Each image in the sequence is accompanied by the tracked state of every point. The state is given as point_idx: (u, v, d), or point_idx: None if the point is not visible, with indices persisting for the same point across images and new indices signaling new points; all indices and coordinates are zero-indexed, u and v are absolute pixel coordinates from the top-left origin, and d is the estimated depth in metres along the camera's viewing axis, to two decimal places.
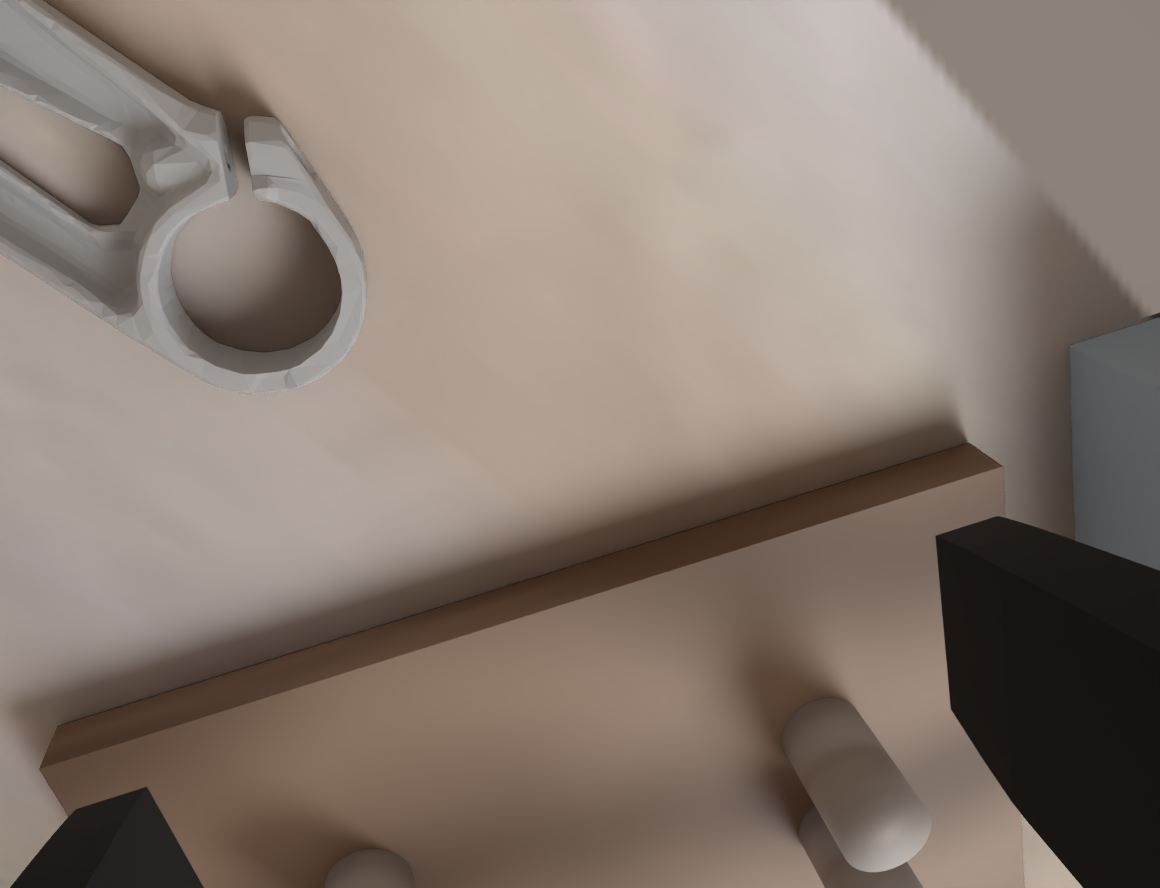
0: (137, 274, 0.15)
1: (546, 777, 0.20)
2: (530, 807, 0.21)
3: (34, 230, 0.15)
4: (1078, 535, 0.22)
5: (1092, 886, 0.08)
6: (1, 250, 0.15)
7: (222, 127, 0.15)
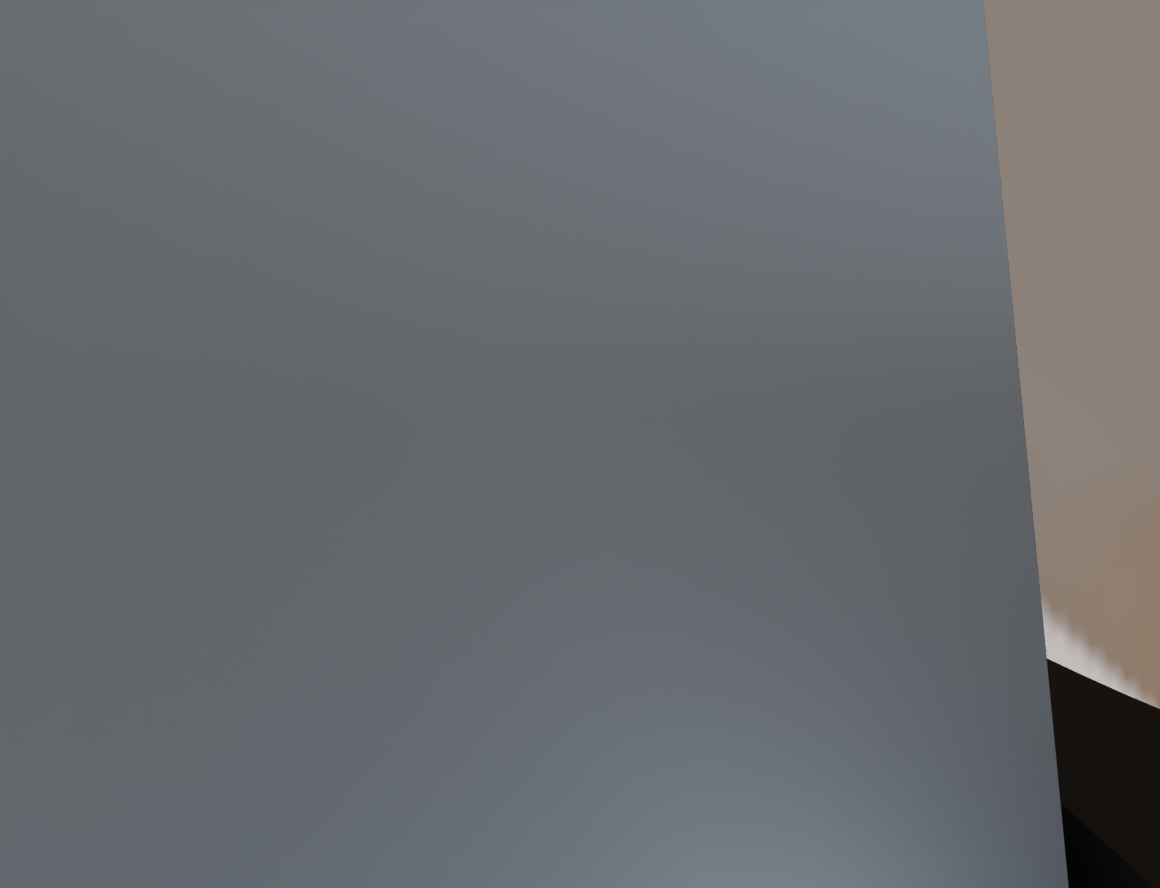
0: None
1: None
2: None
3: None
4: None
5: None
6: None
7: None
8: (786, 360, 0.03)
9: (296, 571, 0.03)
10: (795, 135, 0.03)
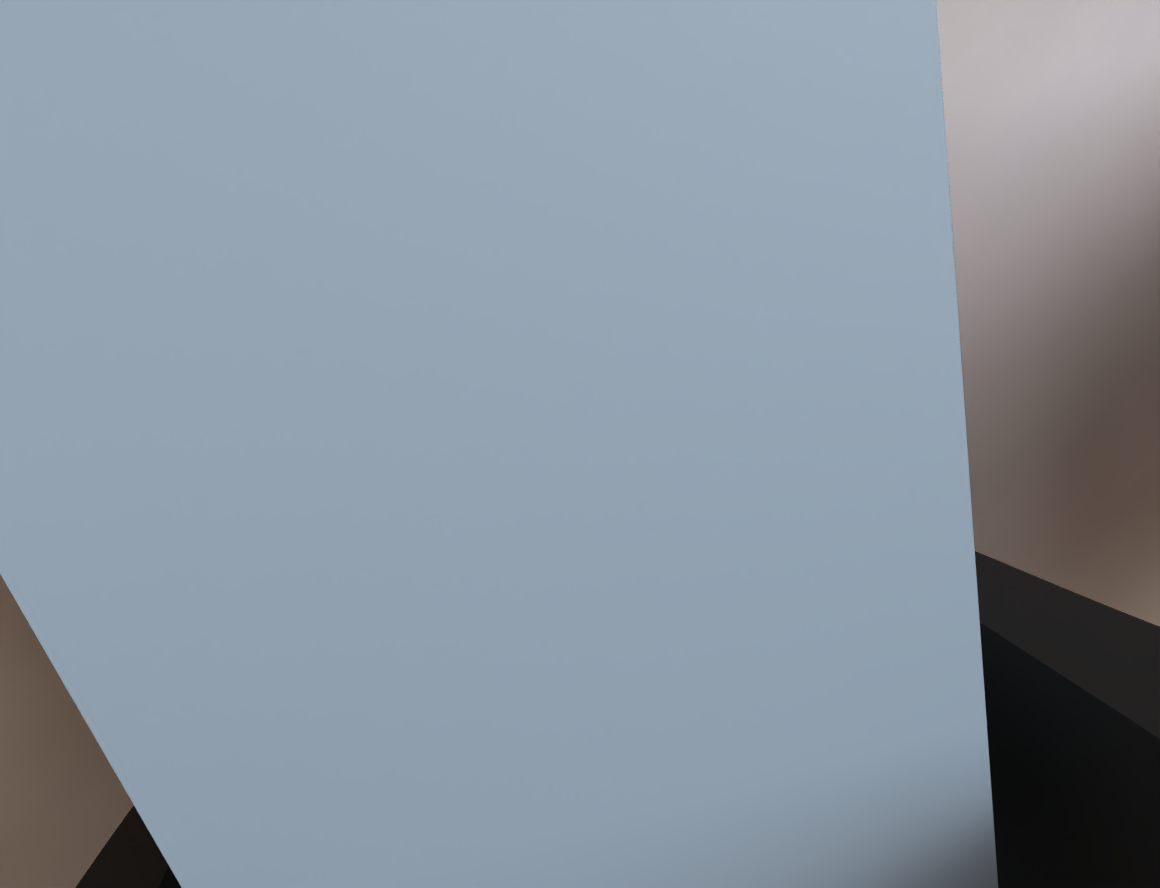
0: None
1: None
2: None
3: None
4: None
5: None
6: None
7: None
8: (774, 282, 0.04)
9: (379, 431, 0.04)
10: (789, 105, 0.04)
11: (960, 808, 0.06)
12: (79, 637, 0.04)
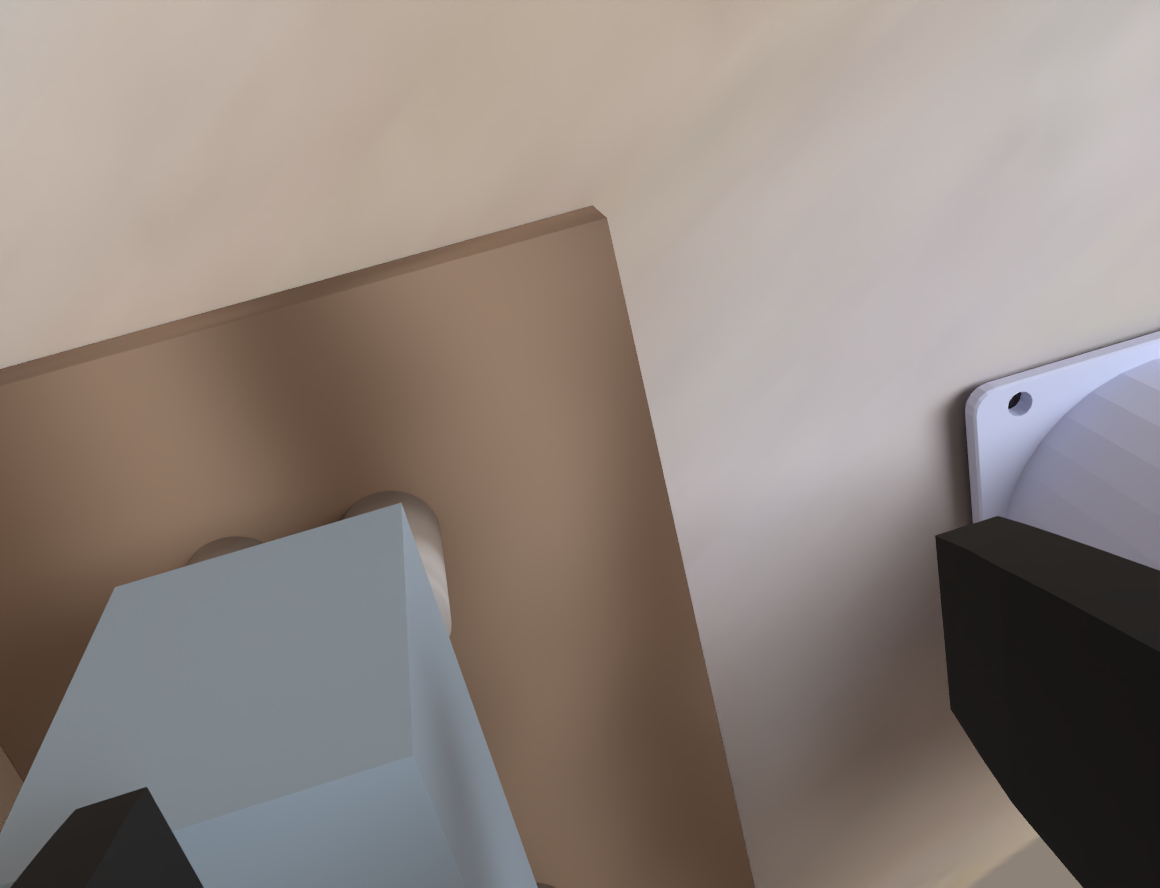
0: None
1: None
2: None
3: None
4: None
5: (1092, 886, 0.08)
6: None
7: None
8: None
9: None
10: None
11: None
12: None
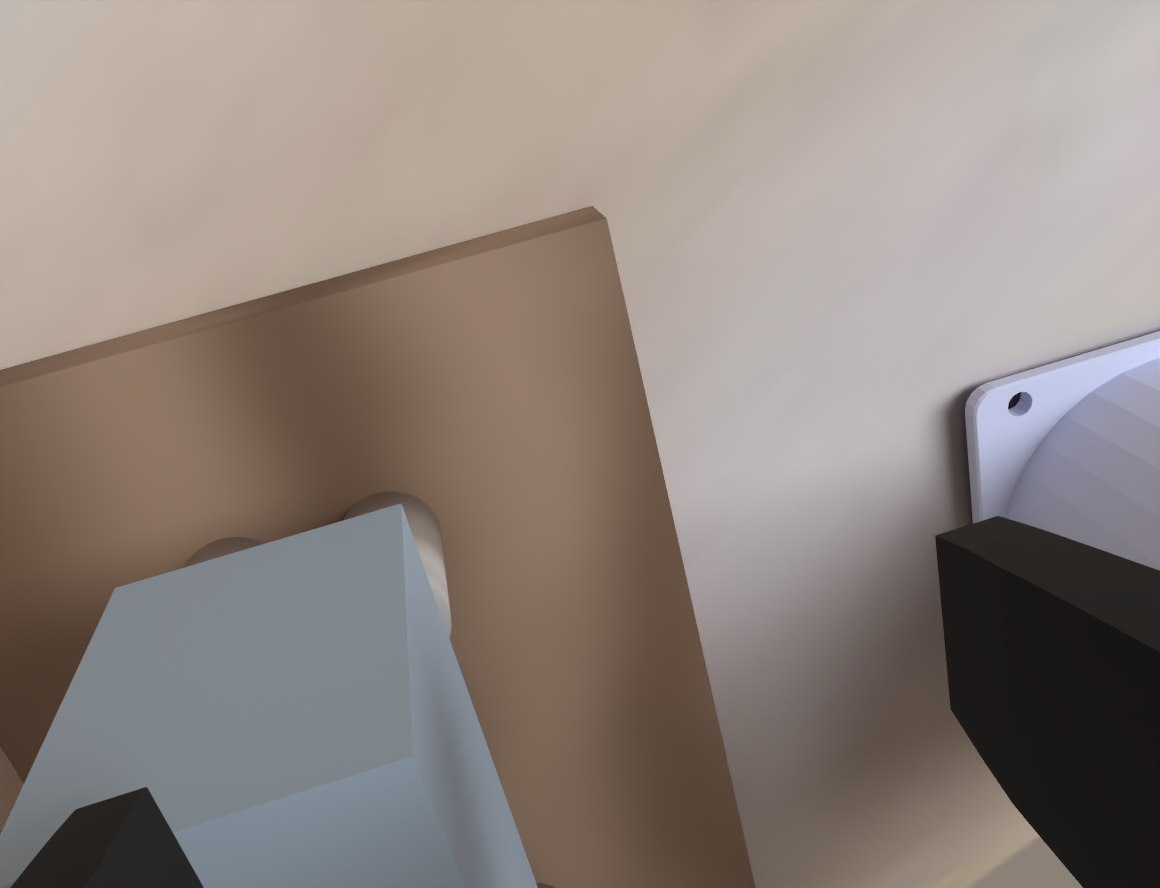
0: None
1: None
2: None
3: None
4: None
5: (1090, 886, 0.08)
6: None
7: None
8: None
9: None
10: None
11: None
12: None
